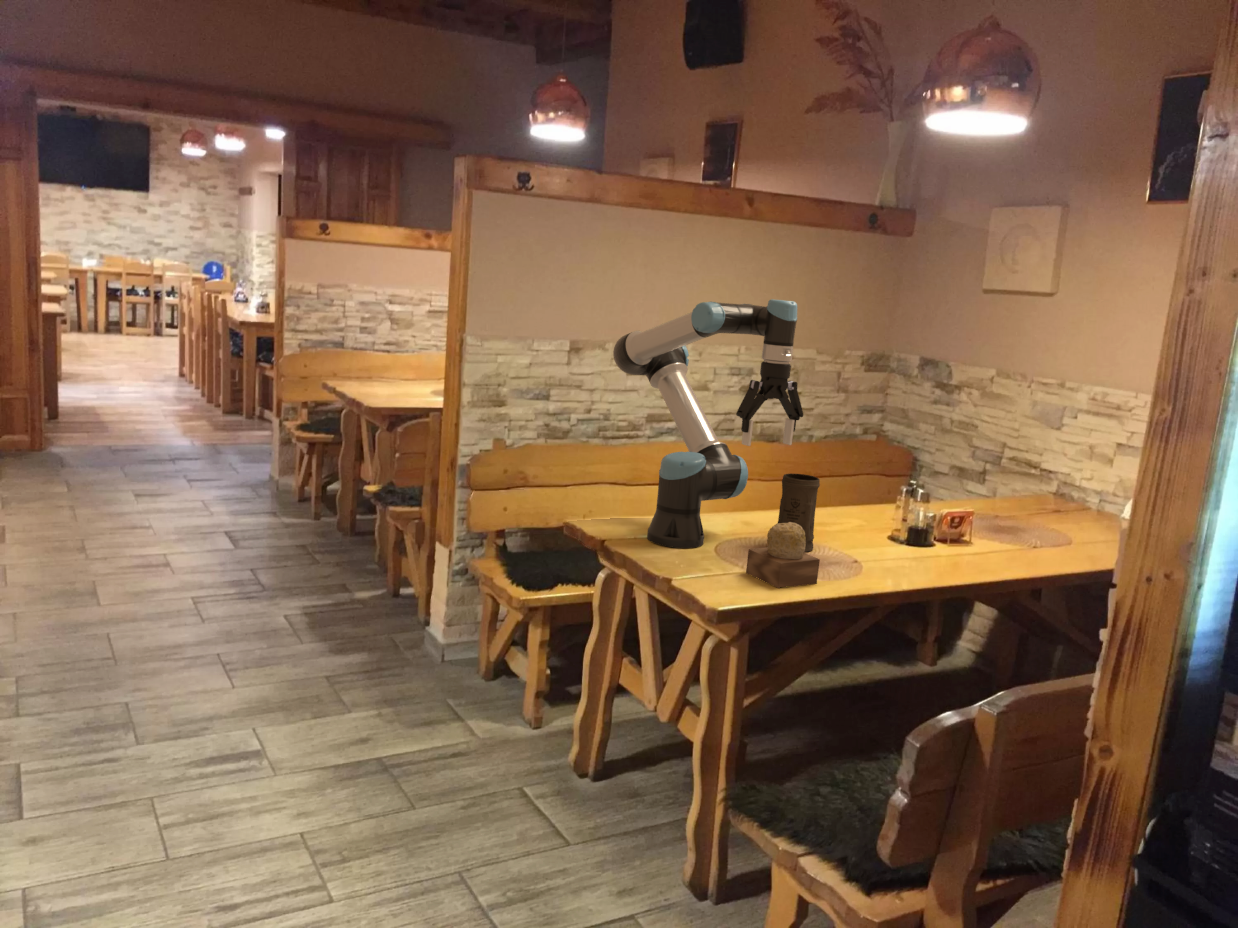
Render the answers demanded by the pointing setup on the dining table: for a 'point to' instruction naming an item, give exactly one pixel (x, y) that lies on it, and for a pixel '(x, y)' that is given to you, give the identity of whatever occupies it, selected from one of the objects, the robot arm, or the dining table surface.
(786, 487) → the beer stein
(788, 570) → the walnut block
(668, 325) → the robot arm
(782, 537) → the brown cratered rock
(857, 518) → the dining table surface
